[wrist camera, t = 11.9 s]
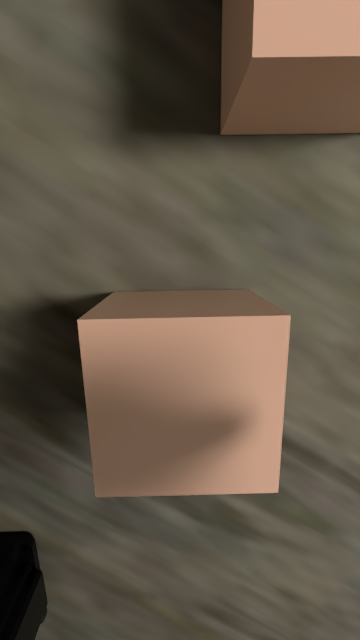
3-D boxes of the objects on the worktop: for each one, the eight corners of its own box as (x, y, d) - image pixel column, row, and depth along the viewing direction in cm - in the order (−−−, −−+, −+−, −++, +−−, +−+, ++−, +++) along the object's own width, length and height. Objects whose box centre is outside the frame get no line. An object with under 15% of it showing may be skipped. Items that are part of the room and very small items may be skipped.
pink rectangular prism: (122, 412, 16) (95, 497, 11) (114, 291, 14) (77, 319, 9) (244, 409, 16) (277, 492, 11) (248, 289, 14) (290, 315, 9)
